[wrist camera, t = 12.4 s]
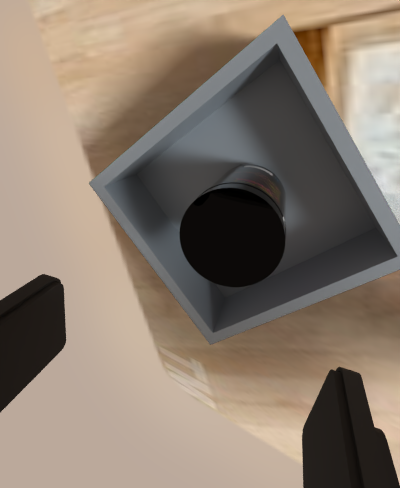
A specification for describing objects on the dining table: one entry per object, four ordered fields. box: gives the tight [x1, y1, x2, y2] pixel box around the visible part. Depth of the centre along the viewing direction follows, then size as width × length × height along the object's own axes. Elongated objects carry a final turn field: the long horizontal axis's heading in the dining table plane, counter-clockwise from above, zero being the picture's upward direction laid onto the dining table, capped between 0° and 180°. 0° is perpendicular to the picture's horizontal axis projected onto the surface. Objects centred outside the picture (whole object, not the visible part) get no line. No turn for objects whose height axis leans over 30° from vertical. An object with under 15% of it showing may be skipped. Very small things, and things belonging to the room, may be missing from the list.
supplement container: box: [179, 164, 286, 287], centre depth 24 cm, size 7×7×10 cm
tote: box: [89, 15, 400, 345], centre depth 26 cm, size 18×18×7 cm
